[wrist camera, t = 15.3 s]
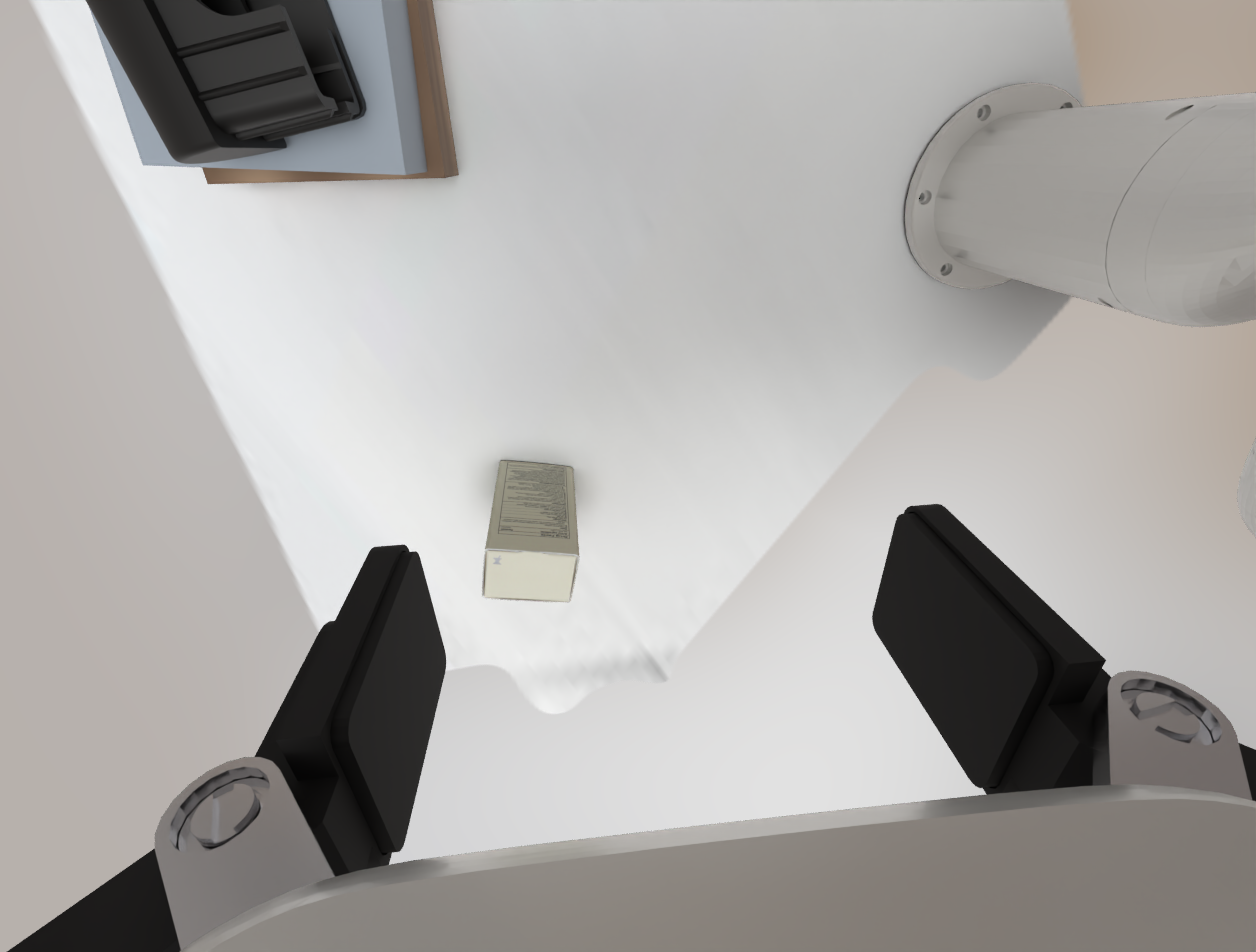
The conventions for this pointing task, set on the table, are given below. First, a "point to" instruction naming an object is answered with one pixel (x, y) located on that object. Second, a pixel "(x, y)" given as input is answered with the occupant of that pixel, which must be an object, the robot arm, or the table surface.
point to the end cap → (232, 71)
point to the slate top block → (372, 144)
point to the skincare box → (532, 534)
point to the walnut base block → (431, 111)
